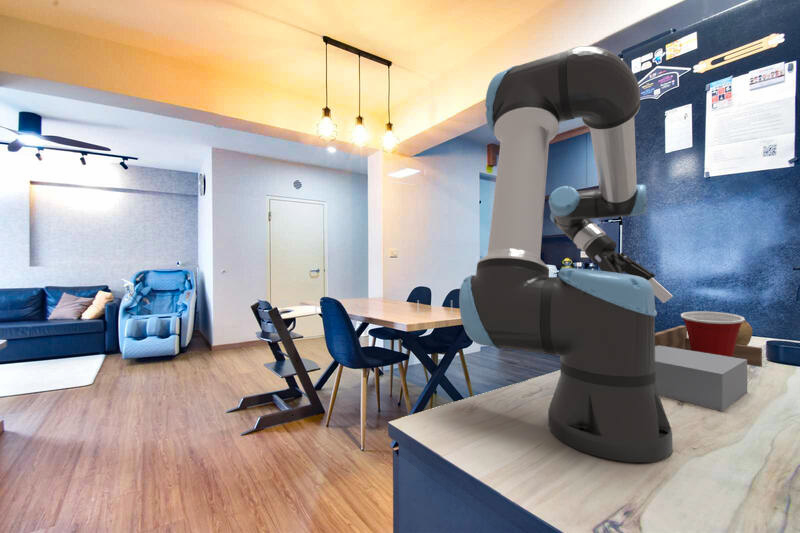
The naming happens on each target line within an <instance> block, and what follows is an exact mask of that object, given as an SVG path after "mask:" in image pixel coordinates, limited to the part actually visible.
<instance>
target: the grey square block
mask: <svg viewBox="0 0 800 533" xmlns="http://www.w3.org/2000/svg"><path fill="white" fill-rule="evenodd" d="M655 382H656V389H657V392H658V395H659V396H660V397H661V396H662V397H665V398H668V399H673V400H678V401H681V402H685V403H689V404H692V405H697V406H701V407H705V408H708V409H712V410H715V411H716V410H717V411H719V412H720V411H721V412H724V411H725V410H726V409H728V408H729V407H730V406H732V405H733V404H734V403H735V402H737V401H738V400H739V399H741V398H742V397H743V396H745V395H746V394H747V393H748V364H747V359H741V358H734V357H728V356H722V355H716V354H709V353H703V352H697V351H691V350H684V349H678V348H672V347H665V346H659V345H658V346H655Z"/></svg>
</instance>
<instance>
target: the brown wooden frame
mask: <svg viewBox="0 0 800 533" xmlns="http://www.w3.org/2000/svg"><path fill="white" fill-rule="evenodd" d="M658 345H659V346H665V347H672V348H678V349H684V350H691V347H690V342H689V337H688V332H687V328H686V325H678V326H674V327H672V328H668V329H664V330H661V331H658V332H655V346H658ZM732 357H734V358H741V359H747V365H751V366H754V367H755V366H756V367H762V366H763V348H762V347H759V346H751V345H747V346H745V345H737V344H736V345H735V349H734V354H733V356H732Z"/></svg>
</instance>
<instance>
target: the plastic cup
mask: <svg viewBox="0 0 800 533" xmlns="http://www.w3.org/2000/svg"><path fill="white" fill-rule="evenodd" d="M680 317H681V319H683V322H684V324H685V325H684V326H686V328H687V338H689V342H690V347H691V351H697V352H703V353H709V354H716V355H722V356H728V357H732V356H733V354H734V349H735V345H736V340H737V336H738V332H739V329H740V327H741V324H742V323H743V321H744V320H745V321H746V319H745V317H744V316H742V315H738V314H735V313H728V312H718V311H705V310H702V311H700V310H699V311H687V312H686V311H685V312H682V313H680Z"/></svg>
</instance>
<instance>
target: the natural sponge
mask: <svg viewBox="0 0 800 533" xmlns="http://www.w3.org/2000/svg"><path fill="white" fill-rule="evenodd" d="M752 336H753V327H752V326H751V324H750V323H749V322H748V321H746V319H745V320H744V321H743V323H742V324H741V327H740V329H739V332H738V336H737V340H736V344H737V345H745V346H749V343H750V342H751V340H752Z"/></svg>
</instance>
